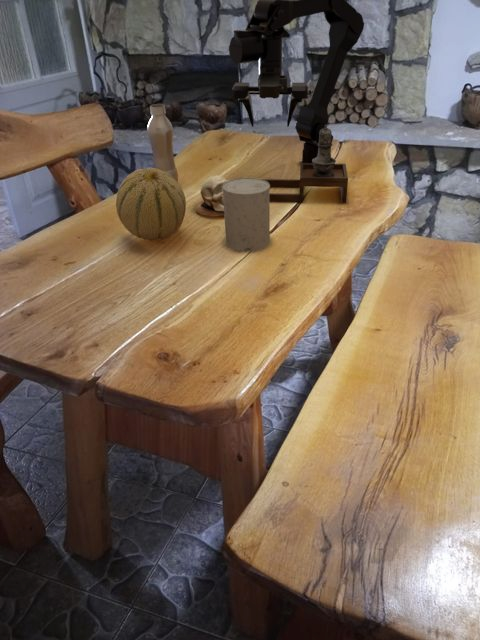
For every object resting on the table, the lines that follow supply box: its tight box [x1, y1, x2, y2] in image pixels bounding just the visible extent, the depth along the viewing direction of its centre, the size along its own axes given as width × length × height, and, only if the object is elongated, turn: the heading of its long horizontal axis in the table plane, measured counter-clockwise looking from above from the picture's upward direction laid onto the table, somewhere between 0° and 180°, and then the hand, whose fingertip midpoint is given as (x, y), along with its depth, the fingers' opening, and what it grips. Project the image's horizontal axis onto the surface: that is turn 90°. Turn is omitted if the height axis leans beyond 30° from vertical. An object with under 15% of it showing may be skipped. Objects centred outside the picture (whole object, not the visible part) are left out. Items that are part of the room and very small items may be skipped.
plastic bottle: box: [146, 103, 179, 183], centre depth 139 cm, size 6×7×20 cm
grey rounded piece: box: [312, 124, 337, 177], centre depth 133 cm, size 6×6×12 cm
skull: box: [194, 175, 228, 217], centre depth 131 cm, size 12×10×10 cm
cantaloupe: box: [115, 167, 187, 242], centre depth 115 cm, size 15×15×15 cm
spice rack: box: [261, 163, 349, 204], centre depth 138 cm, size 23×11×6 cm, turn 86°
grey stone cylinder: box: [222, 177, 271, 253], centre depth 114 cm, size 10×10×12 cm
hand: (270, 126), depth 143 cm, fingers open, 9 cm apart
